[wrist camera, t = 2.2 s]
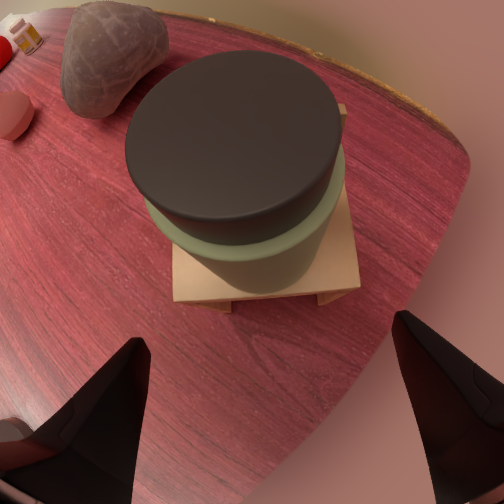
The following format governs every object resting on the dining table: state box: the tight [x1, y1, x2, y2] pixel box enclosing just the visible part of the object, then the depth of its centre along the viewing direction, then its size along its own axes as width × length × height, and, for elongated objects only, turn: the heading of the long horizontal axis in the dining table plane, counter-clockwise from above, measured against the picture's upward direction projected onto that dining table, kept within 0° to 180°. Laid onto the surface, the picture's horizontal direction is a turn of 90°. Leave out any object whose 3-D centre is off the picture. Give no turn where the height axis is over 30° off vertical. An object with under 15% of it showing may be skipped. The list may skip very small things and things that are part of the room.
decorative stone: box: [60, 1, 169, 119], centre depth 24 cm, size 15×10×15 cm
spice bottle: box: [125, 50, 345, 294], centre depth 9 cm, size 5×5×8 cm
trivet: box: [0, 417, 33, 442], centre depth 21 cm, size 9×9×2 cm
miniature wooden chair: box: [172, 104, 361, 313], centre depth 17 cm, size 7×8×14 cm
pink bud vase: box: [0, 90, 35, 141], centre depth 28 cm, size 8×8×12 cm
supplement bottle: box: [9, 18, 43, 55], centre depth 37 cm, size 5×5×10 cm
